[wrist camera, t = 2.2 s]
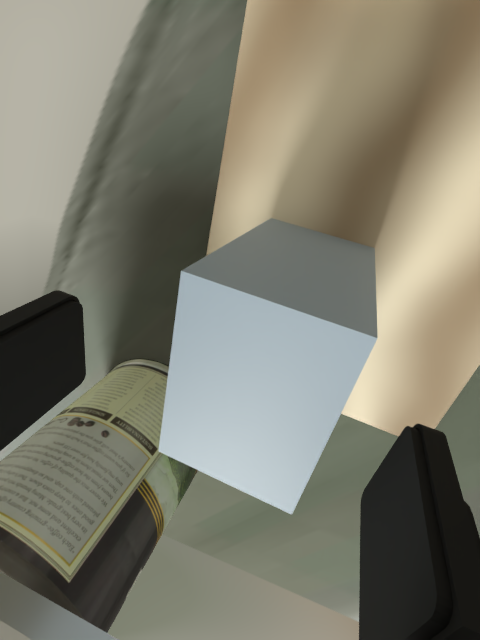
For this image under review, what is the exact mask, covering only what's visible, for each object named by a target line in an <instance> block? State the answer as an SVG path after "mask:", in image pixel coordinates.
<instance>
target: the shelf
mask: <svg viewBox="0 0 480 640" xmlns="http://www.w3.org/2000/svg"><path fill="white" fill-rule="evenodd" d="M270 218H273V219H276V220H280V221H283V222H287V223H290V224H293V225H297V226H300V227H304V228H307V229H311V230H314V231H318V232H321V233H324V234H328V235H331V236H335V237H338V238H342V239H345V240H349V241H352V242H356V243H359V244H362V245H366V246H369V247H373V248H375V270H376V303H377V336H378V338H377V340H376V343H375V345H374V347H373V349H372V351H371V353H370V355H369V357H368V359H367V361H366V363H365V365H364V367H363V369H362V371H361V373H360V375H359V377H358V379H357V382H356V384H355V386H354V388H353V390H352V392H351V394H350V396H349V398H348V400H347V402H346V404H345V406H344V408H343V410H342V412H341V414H344V415H346V416H349V417H351V418H354V419H356V420H359V421H361V422H364V423H366V424H369V425H371V426H374V427H376V428H379V429H381V430H384V431H386V432H389V433H391V434H394V435H396V436H400V434H401V432H402V431H403V429H404V428H405V427H406V426H410V427H413V426H414V425H416V424H422V425H424V426H427V427H430V428H433V429H435V427H436V426H437V425H438V423H439V422H440V420H441V419H442V417H443V416H444V415H445V413H446V412H447V410H448V409H449V407H450V406H451V405H452V403H453V402H454V400H455V399H456V397H457V396H458V395H459V393H460V392H461V390H462V389H463V387H464V386H465V385H466V383H467V382H468V380H469V379H470V377H471V376H472V375H473V373H474V372H475V370H476V369H477V367H478V366H479V365H480V0H247V6H246V13H245V19H244V25H243V31H242V37H241V44H240V50H239V56H238V62H237V68H236V75H235V81H234V87H233V93H232V99H231V105H230V112H229V118H228V124H227V130H226V136H225V143H224V149H223V155H222V161H221V167H220V174H219V180H218V186H217V192H216V198H215V204H214V211H213V217H212V223H211V229H210V235H209V242H208V248H207V254H206V256H207V255H209V254H211V253H212V252H214V251H216V250H217V249H219V248H221V247H222V246H224V245H226V244H228V243H229V242H231V241H233V240H234V239H236V238H238V237H240V236H241V235H243V234H245V233H246V232H248V231H250V230H252V229H253V228H255V227H257V226H258V225H260V224H262V223H264V222H265V221H267V220H269V219H270Z"/></svg>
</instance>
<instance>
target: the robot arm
mask: <svg viewBox="0 0 480 640" xmlns="http://www.w3.org/2000/svg"><path fill="white" fill-rule="evenodd" d="M85 375H86V367H85V347H84V326H83V308H82V305H81V304H80V303H79V300H78V298H77V297H75V296H73V295H70V294H67V293H64V292H62V291H53V292H51V293H49V294H47V295H44V296H42V297H40V298H38V299H36V300H34V301H32V302H29V303H27V304H25V305H23V306H21V307H18V308H16V309H14V310H12V311H10V312H8V313H5V314H3V315H1V316H0V451H1V450H2V449H3V448H4V447H6V446H7V445H8V444H9V443H10V442H12V441H13V440H14V439H15V438H16V437H18V436H19V435H20V434H21V433H22V432H24V431H25V430H26V429H27V428H28V427H30V426H31V425H32V424H33V423H35V422H36V421H37V420H38V419H39V418H41V417H42V416H43V415H44V414H45V413H47V412H48V411H49V410H50V409H51V408H53V407H54V406H55V405H56V404H57V403H59V402H60V401H61V400H62V399H63V398H65V397H66V396H67V395H68V394H69V393H71V392H72V391H73V390H74V389H75V388H77V387H78V386H79V385H80V384H81V383H82V382H83V380H84V378H85ZM0 640H118V639H116V638H115V637H113V636H111V635H110V634H108V633H106V632H104V631H103V630H101V629H99V628H97V627H96V626H94V625H92V624H90V623H89V622H87V621H85V620H83V619H82V618H80V617H78V616H76V615H75V614H73V613H71V612H69V611H68V610H66V609H64V608H62V607H61V606H59V605H57V604H55V603H54V602H52V601H50V600H49V599H47V598H45V597H43V596H42V595H40V594H38V593H36V592H35V591H33V590H31V589H29V588H28V587H26V586H24V585H22V584H21V583H19V582H17V581H15V580H14V579H12V578H10V577H8V576H7V575H5V574H3V573H1V572H0ZM359 640H480V538H479V534H478V531H477V528H476V524H475V521H474V517H473V514H472V512H471V509H470V507H469V506H468V504H467V503H466V502H465V501H464V500H463V496H462V493H461V489H460V485H459V482H458V478H457V475H456V471H455V467H454V464H453V460H452V457H451V453H450V450H449V446H448V442H447V439H446V436H445V434H444V433H443V432H441V431H438V430H435V429H433V428H430V427H427V426H424V425H422V424H416V425H414V426H413V427H410V426H406V427H405V428H404V429H403V431H402V432H401V434H400V436H399V437H398V439H397V440H396V442H395V443H394V445H393V446H392V448H391V449H390V451H389V452H388V454H387V455H386V457H385V459H384V460H383V462H382V463H381V465H380V466H379V468H378V469H377V471H376V472H375V474H374V475H373V477H372V479H371V480H370V482H369V483H368V485H367V486H366V488H365V490H364V492H363V494H362V498H361V525H360V607H359Z"/></svg>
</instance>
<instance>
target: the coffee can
mask: <svg viewBox="0 0 480 640" xmlns="http://www.w3.org/2000/svg"><path fill="white" fill-rule="evenodd" d="M168 371H169V367H168V366H166V365H164V364H162V363H159V362H155V361H150V360H144V359H135V360H129V361H126V362H123V363H121V364H119V365H117V366H116V367H115V368H114V369H113V370H111V372H110V373H109V374H108V375H107V376H106V377H104V378H103V379H102V380H101V381H99V382H98V383H97V384H96V385H94V386H93V387H92V388H91V389H89V390H88V391H87V392H86V393H85V394H83V395H82V396H81V397H80V398H78V399H77V400H76V401H75V402H73V403H72V404H71V405H70V406H68V407H67V408H66V409H65V410H63V411H62V412H61V413H60V414H58V415H57V416H56V417H55V418H53V419H52V420H51V421H50V422H48V423H47V424H46V425H45V426H43V427H42V428H41V429H40V430H38V431H37V432H36V433H35V434H34V435H32V436H31V437H30V438H29V439H27V440H26V441H25V442H24V443H22V444H21V445H20V446H19V447H18V448H16V449H15V450H14V451H13V452H11V453H10V454H9V455H8V456H6V457H5V458H4V459H3V460H1V461H0V572H1V573H3V574H5V575H7V576H8V577H10V578H12V579H14V580H15V581H17V582H19V583H21V584H22V585H24V586H26V587H28V588H29V589H31V590H33V591H35V592H36V593H38V594H40V595H42V596H43V597H45V598H47V599H49V600H50V601H52V602H54V603H55V604H57V605H59V606H61V607H62V608H64V609H66V610H68V611H69V612H71V613H73V614H75V615H76V616H78V617H80V618H82V619H83V620H85V621H87V622H89V623H90V624H92V625H94V626H96V627H97V628H99V629H101V630H103V631H104V632H106V633H107V632H108V630H109V629H110V627H111V625H112V623H113V622H114V620H115V618H116V616H117V614H118V613H119V611H120V609H121V607H122V605H123V603H124V601H125V600H126V598H127V596H128V594H129V592H130V591H131V589H132V587H133V585H134V583H135V581H136V580H137V578H138V576H139V575H140V573H141V571H142V569H143V568H144V566H145V564H146V562H147V560H148V559H149V557H150V555H151V553H152V552H153V550H154V548H155V546H156V544H157V542H158V540H159V539H160V537H161V535H162V533H163V532H164V530H165V528H166V526H167V524H168V523H169V521H170V519H171V517H172V516H173V514H174V512H175V510H176V508H177V506H178V505H179V503H180V501H181V499H182V498H183V496H184V494H185V492H186V491H187V489H188V487H189V485H190V483H191V481H192V480H193V478H194V476H195V474H196V473H197V471H198V470H197V469H194V468H192V467H190V466H188V465H186V464H184V463H182V462H180V461H178V460H175V459H173V458H171V457H169V456H167V455H165V454H163V453H161V452H159V451H158V450H159V442H160V435H161V427H162V419H163V411H164V403H165V395H166V387H167V379H168Z"/></svg>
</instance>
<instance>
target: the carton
mask: <svg viewBox="0 0 480 640" xmlns="http://www.w3.org/2000/svg"><path fill="white" fill-rule="evenodd" d="M377 338H378V336H377V303H376V270H375V248H373V247H369V246H366V245H362V244H359V243H356V242H352V241H349V240H345V239H342V238H338V237H335V236H331V235H328V234H324V233H321V232H318V231H314V230H311V229H307V228H304V227H300V226H297V225H293V224H290V223H287V222H283V221H280V220H276V219H273V218H270V219H269V220H267V221H265V222H264V223H262V224H260V225H258V226H257V227H255V228H253V229H252V230H250V231H248V232H246V233H245V234H243V235H241V236H240V237H238V238H236V239H234V240H233V241H231V242H229V243H228V244H226V245H224V246H222V247H221V248H219V249H217V250H216V251H214V252H212V253H211V254H209V255H207V256H205V257H204V258H202V259H200V260H199V261H197V262H195V263H193V264H192V265H190V266H188V267H187V268H185V269H183V270H181V276H180V284H179V292H178V300H177V307H176V315H175V323H174V331H173V339H172V347H171V355H170V363H169V371H168V379H167V387H166V395H165V403H164V411H163V419H162V427H161V435H160V442H159V450H158V451H159V452H161V453H163V454H165V455H167V456H169V457H171V458H173V459H175V460H178V461H180V462H182V463H184V464H186V465H188V466H190V467H192V468H194V469H197V470H199V471H201V472H203V473H205V474H207V475H209V476H211V477H213V478H216V479H218V480H220V481H222V482H224V483H226V484H228V485H230V486H232V487H235V488H237V489H239V490H241V491H243V492H245V493H247V494H249V495H251V496H254V497H256V498H258V499H260V500H262V501H264V502H266V503H268V504H270V505H273V506H275V507H277V508H279V509H281V510H283V511H285V512H287V513H289V514H292V513H293V511H294V509H295V507H296V505H297V503H298V501H299V499H300V497H301V494H302V492H303V490H304V488H305V486H306V484H307V482H308V480H309V478H310V476H311V474H312V472H313V470H314V468H315V466H316V464H317V462H318V460H319V458H320V455H321V453H322V451H323V449H324V447H325V445H326V443H327V441H328V439H329V437H330V435H331V433H332V431H333V429H334V427H335V425H336V423H337V421H338V418H339V416H340V414H341V412H342V410H343V408H344V406H345V404H346V402H347V400H348V398H349V396H350V394H351V392H352V390H353V388H354V386H355V384H356V382H357V379H358V377H359V375H360V373H361V371H362V369H363V367H364V365H365V363H366V361H367V359H368V357H369V355H370V353H371V351H372V349H373V347H374V345H375V343H376V340H377Z"/></svg>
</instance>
